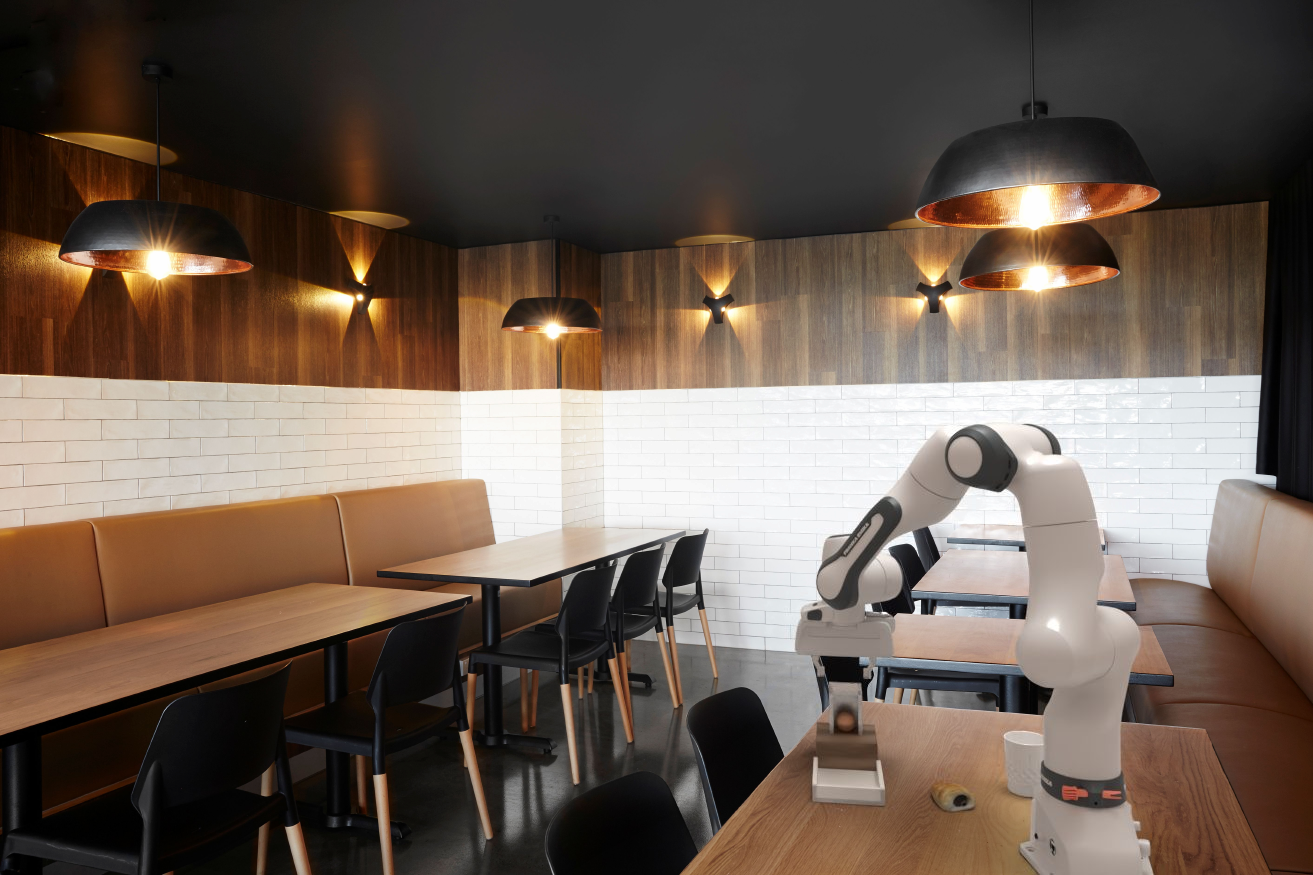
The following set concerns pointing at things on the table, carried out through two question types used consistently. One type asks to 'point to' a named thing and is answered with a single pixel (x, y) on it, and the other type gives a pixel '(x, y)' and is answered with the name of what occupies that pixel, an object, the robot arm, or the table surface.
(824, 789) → the tray
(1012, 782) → the white cup
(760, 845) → the table surface
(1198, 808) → the table surface
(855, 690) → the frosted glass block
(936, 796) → the pastry
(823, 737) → the step block
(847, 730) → the ball
